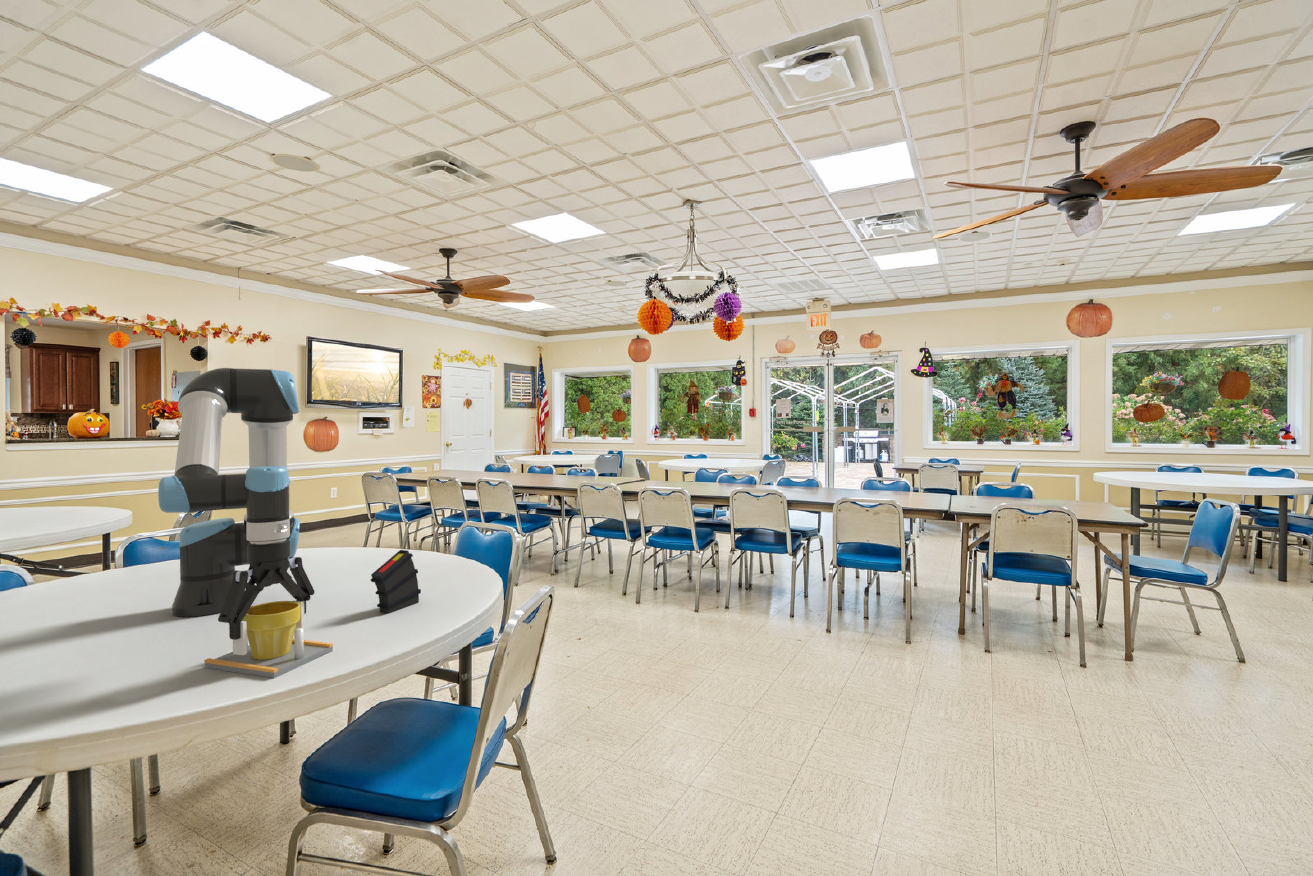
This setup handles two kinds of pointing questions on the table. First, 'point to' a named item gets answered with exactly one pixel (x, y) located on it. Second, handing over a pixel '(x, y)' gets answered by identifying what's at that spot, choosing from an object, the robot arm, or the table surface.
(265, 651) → the plant pot
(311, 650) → the tray
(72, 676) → the table surface
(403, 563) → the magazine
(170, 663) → the table surface
